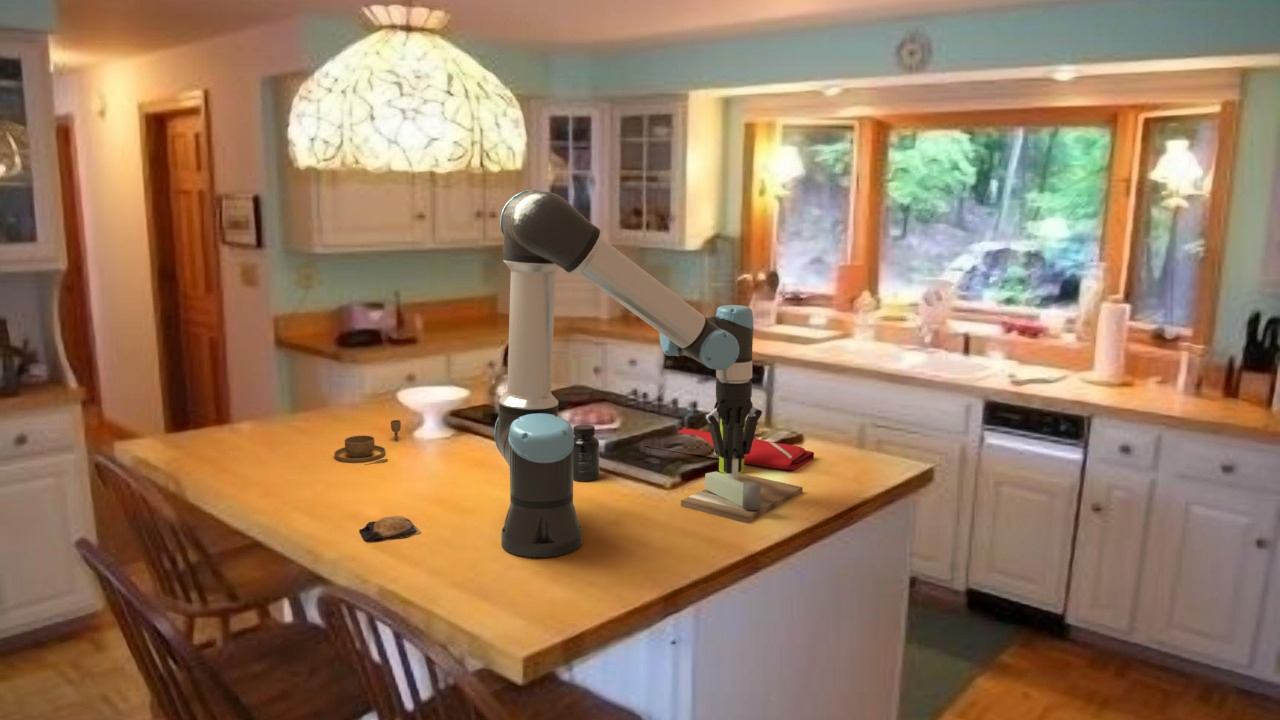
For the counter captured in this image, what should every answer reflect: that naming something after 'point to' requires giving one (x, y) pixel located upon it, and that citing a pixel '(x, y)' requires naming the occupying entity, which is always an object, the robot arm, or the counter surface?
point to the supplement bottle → (585, 453)
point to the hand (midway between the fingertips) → (732, 486)
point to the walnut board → (717, 505)
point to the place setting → (365, 447)
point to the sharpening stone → (734, 490)
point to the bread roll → (388, 529)
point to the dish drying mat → (766, 452)
